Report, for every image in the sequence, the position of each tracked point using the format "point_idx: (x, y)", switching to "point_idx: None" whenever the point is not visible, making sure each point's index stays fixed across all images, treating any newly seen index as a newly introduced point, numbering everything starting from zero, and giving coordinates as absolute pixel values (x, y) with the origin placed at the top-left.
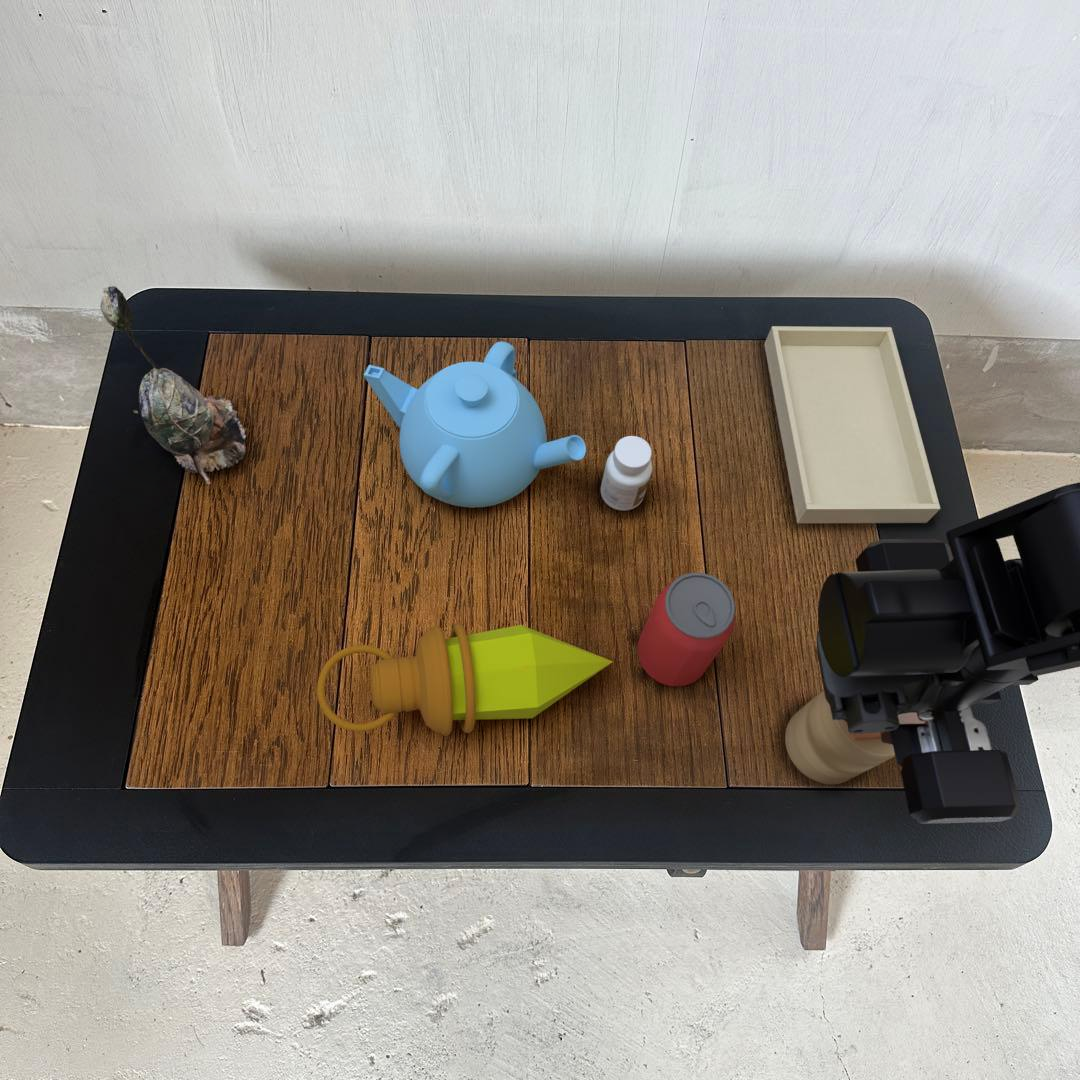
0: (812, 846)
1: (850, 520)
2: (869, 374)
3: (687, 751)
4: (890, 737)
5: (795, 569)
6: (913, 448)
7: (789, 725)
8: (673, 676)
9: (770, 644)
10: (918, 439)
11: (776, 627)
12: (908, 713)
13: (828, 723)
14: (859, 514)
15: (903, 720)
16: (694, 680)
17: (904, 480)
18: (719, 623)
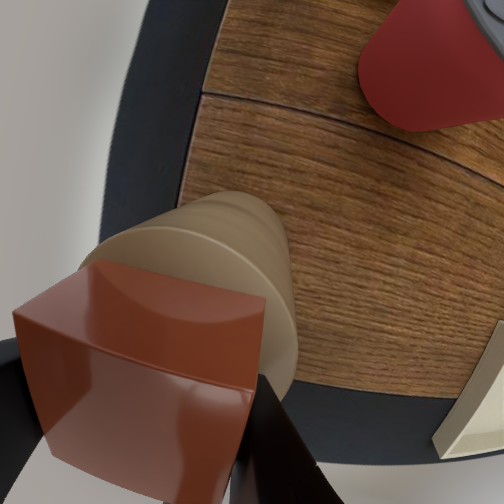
0: (112, 184)
1: (475, 377)
2: None
3: (262, 52)
4: (12, 348)
5: (461, 300)
6: (491, 442)
7: (263, 203)
8: (373, 36)
9: (388, 227)
10: (496, 448)
11: (407, 245)
12: (71, 433)
13: (172, 217)
14: (479, 389)
15: (47, 411)
16: (363, 82)
17: (472, 428)
18: (491, 23)
